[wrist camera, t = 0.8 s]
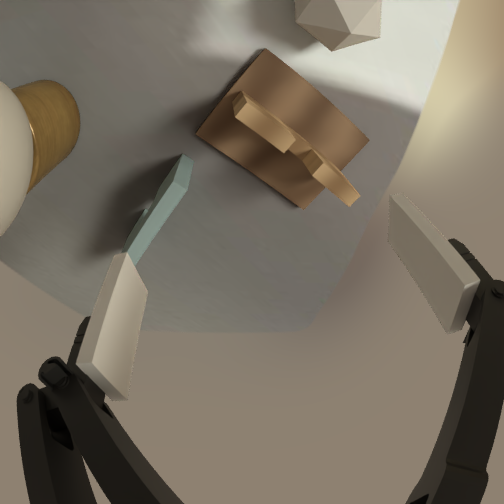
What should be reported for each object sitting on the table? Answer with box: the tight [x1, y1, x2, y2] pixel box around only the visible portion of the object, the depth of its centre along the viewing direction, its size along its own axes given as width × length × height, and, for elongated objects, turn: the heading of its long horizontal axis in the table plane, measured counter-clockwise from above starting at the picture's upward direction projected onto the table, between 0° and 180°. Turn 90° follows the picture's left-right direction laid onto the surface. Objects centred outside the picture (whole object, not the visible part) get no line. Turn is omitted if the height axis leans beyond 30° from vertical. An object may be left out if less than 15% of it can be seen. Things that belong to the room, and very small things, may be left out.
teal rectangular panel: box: [121, 154, 194, 266], centre depth 35 cm, size 2×14×8 cm, turn 141°
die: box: [295, 0, 381, 52], centre depth 23 cm, size 8×9×10 cm
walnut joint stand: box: [196, 48, 370, 210], centre depth 31 cm, size 16×12×9 cm
